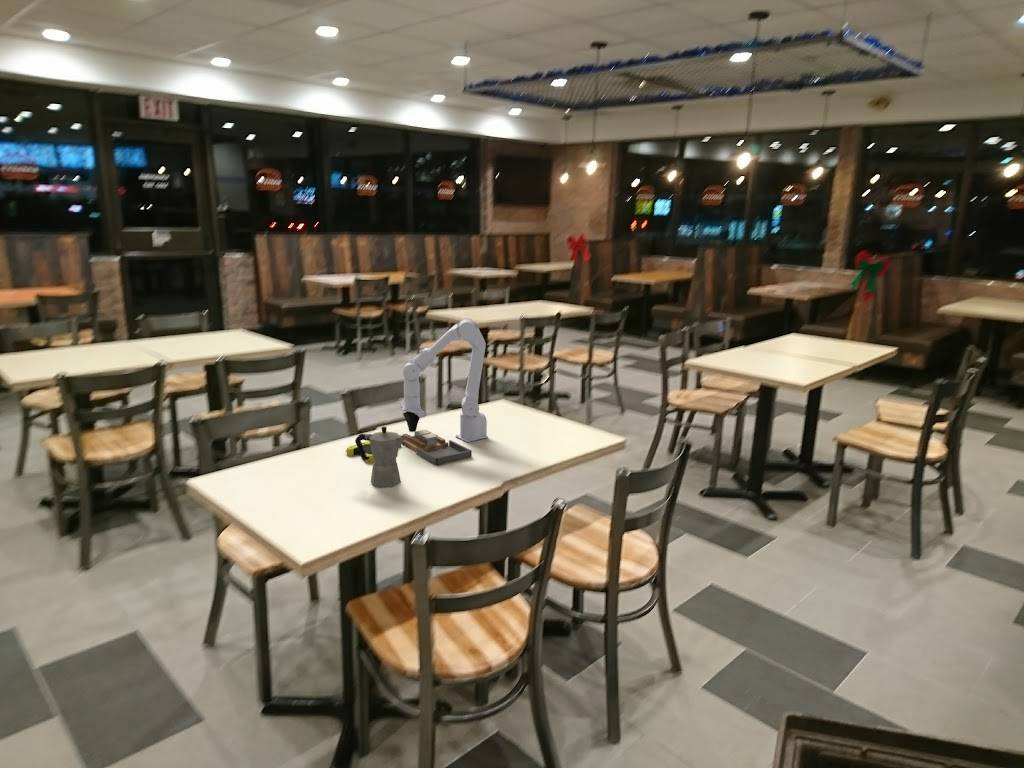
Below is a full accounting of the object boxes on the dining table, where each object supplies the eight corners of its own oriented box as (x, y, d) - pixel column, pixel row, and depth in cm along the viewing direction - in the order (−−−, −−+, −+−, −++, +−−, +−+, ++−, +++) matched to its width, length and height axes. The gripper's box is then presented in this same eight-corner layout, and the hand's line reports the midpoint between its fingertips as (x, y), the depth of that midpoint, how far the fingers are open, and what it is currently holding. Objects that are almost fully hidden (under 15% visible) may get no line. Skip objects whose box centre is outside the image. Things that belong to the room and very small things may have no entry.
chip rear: (424, 437, 242) (424, 429, 242) (430, 440, 239) (429, 432, 239) (414, 439, 240) (414, 431, 239) (420, 442, 237) (420, 434, 236)
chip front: (431, 441, 239) (431, 433, 238) (437, 444, 236) (437, 436, 235) (421, 443, 236) (421, 435, 236) (427, 446, 233) (427, 438, 232)
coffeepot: (409, 477, 210) (408, 422, 205) (404, 488, 201) (403, 431, 196) (360, 476, 210) (358, 421, 205) (353, 488, 200) (351, 431, 196)
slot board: (428, 436, 248) (428, 429, 248) (448, 446, 237) (448, 439, 237) (399, 442, 241) (399, 434, 240) (418, 453, 230) (418, 445, 230)
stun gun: (414, 445, 232) (390, 434, 242) (366, 457, 219) (342, 446, 229) (414, 453, 232) (390, 442, 243) (366, 466, 219) (343, 454, 230)
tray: (450, 446, 238) (450, 440, 238) (471, 457, 228) (471, 450, 227) (416, 454, 230) (416, 447, 229) (436, 465, 220) (436, 458, 219)
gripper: (392, 392, 245) (393, 428, 248) (411, 401, 233) (412, 438, 237) (409, 390, 249) (410, 424, 252) (429, 398, 238) (429, 434, 241)
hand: (412, 431), depth 245 cm, fingers closed
